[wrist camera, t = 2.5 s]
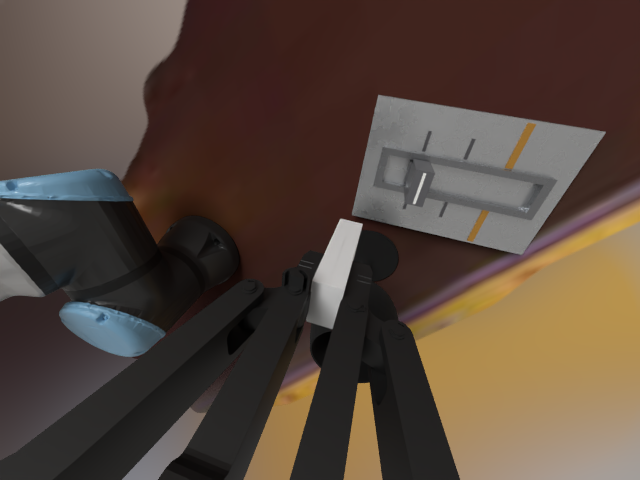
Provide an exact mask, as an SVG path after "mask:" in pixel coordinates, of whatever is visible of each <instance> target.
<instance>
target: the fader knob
mask: <svg viewBox="0 0 640 480" xmlns="http://www.w3.org/2000/svg"><path fill="white" fill-rule="evenodd" d="M434 175H435V172H434V169H433V167H432V165H431V162H428V161H423V160H418V159H413V162H412V161H410V163H409V166H408V170H407V173H406V176H405V179H404V184H405V187H404V201H405V204H409V205H414V206H418V207H423V204H424V202H425V199H426V196H427V194H428V191H429V188H430V186H431V183H432V181H433V178H434Z"/></svg>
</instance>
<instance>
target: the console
mask: <svg viewBox="0 0 640 480" xmlns="http://www.w3.org/2000/svg"><path fill="white" fill-rule="evenodd" d="M605 133H606V132H603V131H598V130H594V129H588V128H581V127H575V126H569V125H563V124H557V123H550V122H544V121H538V120H532V119H526V118H520V117H513V116H507V115H501V114H495V113H489V112H482V111H476V110H470V109H464V108H458V107H452V106H445V105H439V104H433V103H427V102H421V101H414V100H408V99H402V98H396V97H390V96H384V95H378V99H377V104H376V108H375V113H374V117H373V122H372V126H371V131H370V135H369V140H368V144H367V149H366V153H365V158H364V162H363V167H362V171H361V176H360V180H359V185H358V189H357V194H356V198H355V203H354V208H353V212H352V215H354V216H358V217H362V218H366V219H371V220H375V221H379V222H383V223H388V224H392V225H396V226H400V227H405V228H409V229H413V230H418V231H422V232H426V233H430V234H435V235H439V236H443V237H447V238H452V239H456V240H460V241H464V242H469V243H473V244H477V245H481V246H486V247H490V248H494V249H498V250H503V251H507V252H511V253H515V254H520V255H522V254H523V252H524V251H525V250H526V248H527V247H528V245H529V244H530V242H531V241H532V239H533V238H534V236H535V235H536V233H537V232H538V231H539V229H540V228H541V226H542V225H543V223H544V222H545V220H546V219H547V217H548V216H549V214H550V213H551V212H552V210H553V209H554V207H555V206H556V204H557V203H558V201H559V200H560V198H561V197H562V196H563V194H564V193H565V191H566V190H567V188H568V187H569V185H570V184H571V182H572V181H573V179H574V178H575V177H576V175H577V174H578V172H579V171H580V169H581V168H582V166H583V165H584V163H585V162H586V161H587V159H588V158H589V156H590V155H591V153H592V152H593V150H594V149H595V147H596V146H597V144H598V143H599V142H600V140H601V139H602V137H603V136H604V134H605ZM413 159H418V160H423V161H428V162H431V165H432V167H433V169H434V172H435V175H434V178H433V181H432V183H431V186H430V188H429V191H428V194H427V196H426V199H425V202H424V204H423V207H418V206H414V205H409V204H405V201H404V187H405V184H404V179H405V176H406V173H407V170H408V166H409V163H410V161H412V162H413Z"/></svg>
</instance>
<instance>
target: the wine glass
mask: <svg viewBox="0 0 640 480" xmlns="http://www.w3.org/2000/svg"><path fill="white" fill-rule="evenodd" d="M353 261H354V262H358V263H362V264H366V265H369V266H370V267H371V269H372V272H373V273H372V279H371V287H370V293H369V300H368V307H369V310H370V311H371V313H372V314H373V315H374V316H375V317H377V318H378V319H380V320H382V321H383V322H386V321H388V320H397V321H398V316H397V312H396V309H395V306H394V304H393V302H392V300H391V298H390V297H389V296H388V294H387V293H386V292H385V291H384V290H383V289H382V288H381V287H380V286H378V285H377V284H376V283H374V282H372V281H378V280H382V279H384V278H386V277H388V276H389V275H390V274H392V272H393V271H394V270H395V268H396V266H397V264H398V252H397V249H396V247H395V245H394V244H393V243H392V241H391V240H390V239H388V238H387V237H386V236H384V235H382V234H380V233H378V232H374V231H368V230H365V231H361V233H360V237H359V241H358V245H357V249H356V253H355V257H354V260H353ZM331 333H332V329H330V328H327V327H323V326H320V325H317V324H314V323H312V324H311V333H310V352H311V355H312V357H313V359H314V361H315V362H316V364H317V365H318V366H319V367H320V368H322V364H323V361H324V357H325V354H326V350H327V347H328V343H329V340H330V336H331ZM368 382H370V381H369V374H368V364H366V363H365V362H363V361H362V360H361V364H360V371H359V377H358V383H368Z"/></svg>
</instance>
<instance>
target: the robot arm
mask: <svg viewBox="0 0 640 480" xmlns="http://www.w3.org/2000/svg"><path fill="white" fill-rule="evenodd" d="M133 201H134V200H133V198H132V197H130V196H129V194H128V192H127V191H126V189H125V188H124V186H123V185H122V183H121V181H120V180H119V178H118V177H117V176H116V175H115V174H114V173H112V172H110V171H108V170H105V169H91V170H82V171H74V172H66V173H58V174H50V175H43V176H35V177H27V178H19V179H13V180H5V181H0V301H2V300H4V299H6V298H8V297H10V296H16V295H24V296H35V297H43V296H45V295H48V294H49V293H52V292H54V291H56V290H58V289H60V288H62V289H63V290H64V291H65V292H66V293H67V294H68V296H69V297H70V298H71V300H72V301H71V302H68V303H66V304H65V305H64V307H63V308H62V309H61V310H60V313H59V315H60V317H61V321H62V322H63V323H64V324H65V326H66V327H67V328H68V329H69V330H71V331H72V332H73V333H74V334H76V335H77V336H79V337H80V338H82V339H83V340H85V341H87V342H88V343H90V344H92V345H93V346H96V347H98V348H100V349H102V350H104V351H107V352H109V353H112V354H116V355H120V356H126V357H134V356H138V355H141V354H143V353H145V352H146V351H148V350H149V349H150V348H151V347H152V346H153V345H154V344H155V343H156V342H157V341H158V340H160V339H161V338H163V337H164V336H165V334H166V333H167V331H168V330H169V329H170V328H171V327H172V326H173V325H174V324H175V323H176V322H177V321H178V320H179V318H180V317H181V316H182V315H183V314H184V313H185V312H186V311H187V310H188V309H189V308H190V307H191V306H192V304H193V303H194V302H195V301H196V300H197V299H198V298H199V297H200V296H201V295H202V294H203V293H204V292H205V291H207V290H209V289H211V288H212V287H214V286H216V285H218V284H221V283H223V282H225V281H226V280H228V279H229V278H230V277H231V276H232V275H233V273H234V272H235V271H236V270H237V268H238V265H239V254H238V250H237V247H236V245H235V243H234V241H233V240H232V238H231V237H230V236H229V234H228V233H227V232H226V231H225V230H224V229H223V228H222V227H220V226H219V225H218V224H216V223H215V222H213V221H211V220H209V219H207V218H204V217H200V216H186V217H183V218H181V219H180V220H178V221H177V222H175V223H173V224H172V225H171V226H170V227H169V229H168V230H167V232H166V234H165V235H164V236H163V237H162V238H161V240H160V241H159V242H158V244H156V242H155V241H154V239H153V237H152V235H151V233H150V232H149V230H148V228H147V226H146V224H145V223H144V221H143V219H142V217H141V215H140V214H139V212H138V210H137V208H136V206H135V205H134V203H133ZM362 225H363V224H361V223H357V222H352V221H348V220H344V219H340V221H339V223H338V225H337V227H336V230H335V232H334V234H333V236H332V238H331V240H330V243H329V245H328V247H327V249H326V251H325V254H322V253H318V252H314V251H311V250H310V251H309V252H307V253H306V254H304V256H303V258H302V259H301V261H300V263H299V265H298V266H297V267H294V268H289V269H286V270H285V271H284V272H283V276H282V287H278V288H264V286H263V284H262V283H261V282H260V281H258V280H255V279H246V280H242V281H240V282H239V283H237V284H236V285H235V286H233V287H232V288H231V289H229V290H228V291H227V292H225V293H224V294H223V295H222V296H220V297H219V298H218V299H216V300H215V301H214V302H212V303H211V304H210V305H208V306H207V307H206V308H204V309H203V310H202V311H201V312H199V313H198V314H197V315H195V316H194V317H193V318H191V319H190V320H189V321H187V322H186V323H185V324H183V325H182V326H181V327H180V328H178V329H177V330H176V331H174V332H173V333H172V334H170V335H169V336H168V337H166V338H165V339H164V340H162V341H161V342H160V343H159V344H157V345H156V346H155V347H153V348H152V349H151V350H149V351H148V352H147V353H145V354H144V355H143V356H142V357H140V358H139V359H138V360H136V361H135V362H134V363H132V364H131V365H130V366H128V367H127V368H126V369H124V370H123V371H122V372H121V373H119V374H118V375H117V376H115V377H114V378H113V379H111V380H110V381H109V382H107V383H106V384H105V385H103V386H102V387H101V388H100V389H98V390H97V391H96V392H94V393H93V394H92V395H90V396H89V397H88V398H86V399H85V400H84V401H83V402H81V403H80V404H79V405H77V406H76V407H75V408H73V409H72V410H71V411H70V412H68V413H67V414H66V415H64V416H63V417H62V418H60V419H59V420H58V421H57V422H55V423H54V424H53V425H51V426H50V427H48V428H47V429H46V430H45V431H43V432H42V433H41V434H39V435H38V436H37V437H35V438H34V439H33V440H31V441H30V442H29V443H27V444H26V445H25V446H23V447H22V448H21V449H20V450H18V451H17V452H16V453H14V454H12V455H10V456H8V457H6V458H4V459H3V460H1V461H0V480H122V479H123V478H124V477H125V476H126V475H127V473H128V472H129V471H130V470H131V469H132V468H133V467H134V466H135V465H136V464H137V462H139V461H140V460H141V459H142V457H143V456H144V455H145V454H146V453H147V452H148V451H149V450H150V449H151V448H152V447H153V446H154V445H155V444H156V443H157V442H158V440H159V439H160V438H161V437H162V436H163V435H164V434H165V433H166V432H167V431H168V430H169V429H170V428H171V427H172V425H173V424H174V423H175V422H176V421H177V420H178V419H179V418H180V417H181V416H182V415H183V414H184V413H185V411H187V409H189V407H190V406H191V405H192V404H193V403H194V402H195V401H196V400H197V399H198V398H199V397H200V396H201V395H202V394H203V393H204V391H205V390H206V389H207V388H208V387H209V386H210V385H211V384H212V383H213V382H214V381H215V380H216V379H217V378H218V377H219V376H220V374H221V373H222V372H223V371H224V370H225V369H226V368H227V367H228V366H229V365H230V364H231V363H232V362H233V361H234V360H235V358H236V357H237V356H238V355H239V354H240V353H241V352H242V351H243V350H244V351H243V353H242V354H241V356H240V358H239V359H238V361H237V363H236V364H235V366H234V368H233V369H232V371H231V373H230V375H229V376H228V378H227V380H226V381H225V383H224V385H223V386H222V388H221V390H220V391H219V393H218V395H217V397H216V398H215V400H214V402H213V403H212V405H211V407H210V408H209V410H208V412H207V413H206V415H205V417H204V419H203V420H202V422H201V424H200V425H199V427H198V429H197V431H196V432H195V434H194V435H193V437H192V439H191V441H190V442H189V444H188V446H187V447H186V449H185V450H184V452H183V453H182V454H181V455H180V456H179V457H178V458H176V459H175V460H173V461H172V462H171V463H170V464H169V465H168V466H167V468H166V469H165V470H164V472H163V473H162V474H161V476H160V477H159V479H158V480H243V479H244V477H245V474H246V472H247V469H248V467H249V464H250V462H251V459H252V457H253V454H254V452H255V449H256V447H257V444H258V442H259V439H260V437H261V434H262V432H263V429H264V427H265V424H266V422H267V419H268V416H269V414H270V411H271V409H272V407H273V404H274V401H275V399H276V396H277V394H278V391H279V389H280V386H281V384H282V381H283V379H284V376H285V374H286V371H287V369H288V366H289V364H290V361H291V359H292V356H293V354H294V351H295V349H296V346H297V344H298V341H299V339H300V336H301V334H302V331H303V326H304V322H305V319H306V321H307V322H311V323H314V324H317V325H320V326H323V327H327V328H330V329H332V333H331V336H330V340H329V343H328V347H327V350H326V354H325V357H324V361H323V364H322V368H321V371H320V375H319V378H318V382H317V385H316V389H315V392H314V396H313V399H312V403H311V406H310V410H309V413H308V417H307V421H306V424H305V427H304V431H303V435H302V439H301V442H300V445H299V449H298V453H297V456H296V460H295V463H294V466H293V470H292V473H291V477H290V480H343V479H344V472H345V465H346V458H347V452H348V444H349V438H350V432H351V425H352V418H353V411H354V404H355V398H356V391H357V384H358V377H359V371H360V364H361V360H362V361H363V362H365V363H366V364H368V374H369V381H370V389H371V396H372V404H373V411H374V419H375V426H376V434H377V441H378V448H379V456H380V463H381V471H382V478H383V480H460V478H459V475H458V472H457V469H456V466H455V463H454V460H453V457H452V454H451V450H450V447H449V444H448V441H447V438H446V435H445V432H444V429H443V426H442V423H441V420H440V417H439V414H438V410H437V408H436V404H435V401H434V398H433V395H432V392H431V389H430V386H429V383H428V380H427V377H426V374H425V370H424V367H423V364H422V361H421V358H420V355H419V352H418V349H417V346H416V343H415V340H414V337H413V334H412V332H411V330H410V329H409V328H408V327H407V326H406V325H405V324H404V323H402V322H400V321H397V320H388V321H386V322H383V321H382V320H380V319H378V318H377V317H375V316H374V315H373V314H372V313H371V311H370V310H369V307H368V300H369V293H370V287H371V279H372V273H373V272H372V269H371V267H370V266H369V265H366V264H362V263H358V262H354V261H353V260H354V257H355V253H356V249H357V245H358V241H359V237H360V233H361V229H362ZM306 317H307V318H306Z"/></svg>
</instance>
